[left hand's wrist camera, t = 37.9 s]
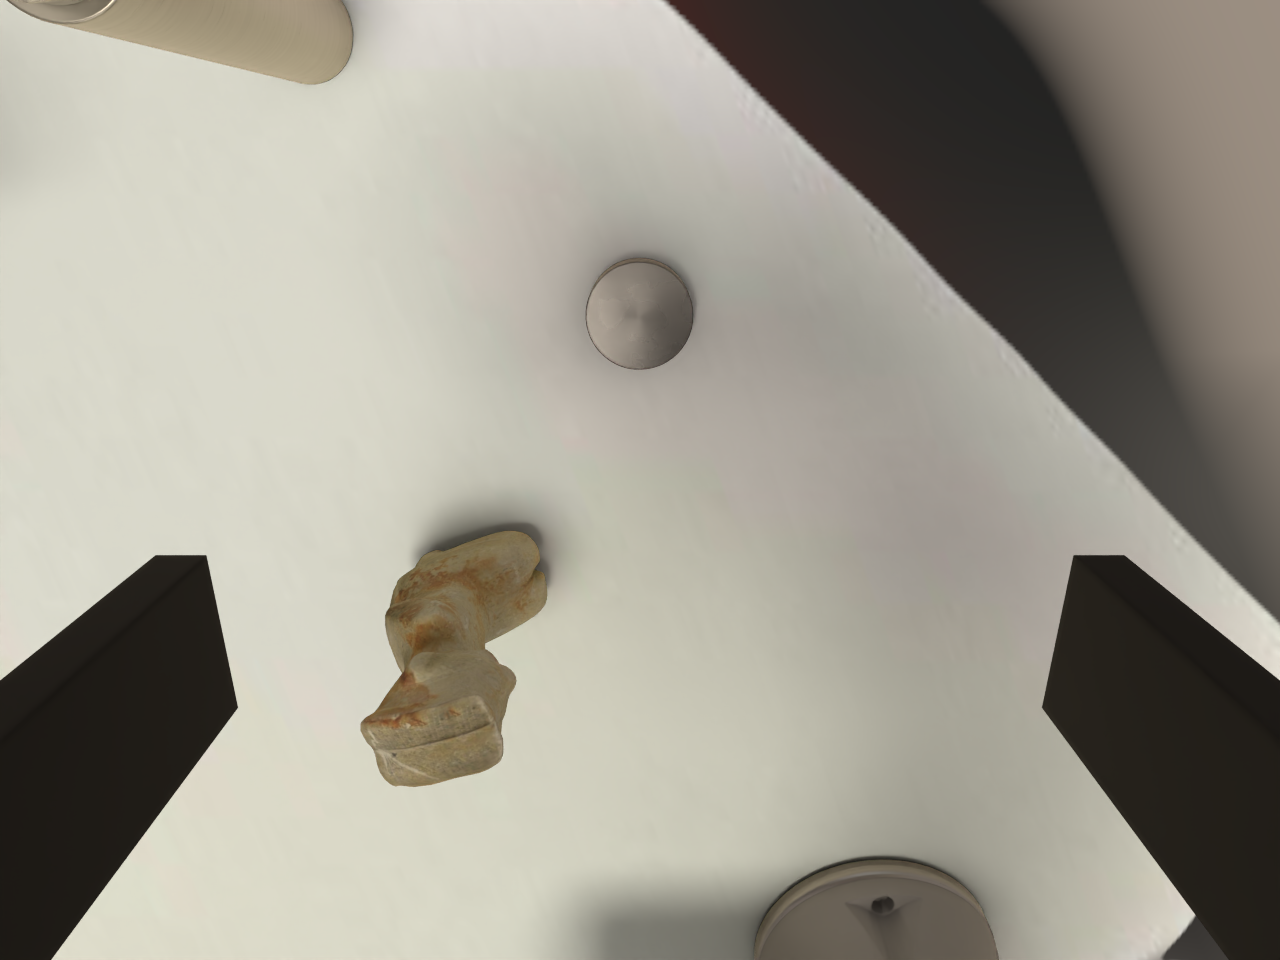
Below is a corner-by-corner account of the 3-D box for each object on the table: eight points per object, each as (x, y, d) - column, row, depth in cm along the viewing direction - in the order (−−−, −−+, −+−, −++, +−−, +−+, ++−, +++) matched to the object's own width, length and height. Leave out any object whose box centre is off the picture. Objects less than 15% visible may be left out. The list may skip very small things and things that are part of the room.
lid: (591, 363, 41) (589, 371, 39) (584, 260, 39) (582, 264, 37) (692, 359, 40) (694, 367, 39) (690, 255, 39) (692, 259, 37)
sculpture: (558, 606, 45) (521, 804, 31) (429, 625, 46) (336, 829, 32) (535, 509, 43) (485, 675, 29) (401, 530, 43) (288, 703, 29)
